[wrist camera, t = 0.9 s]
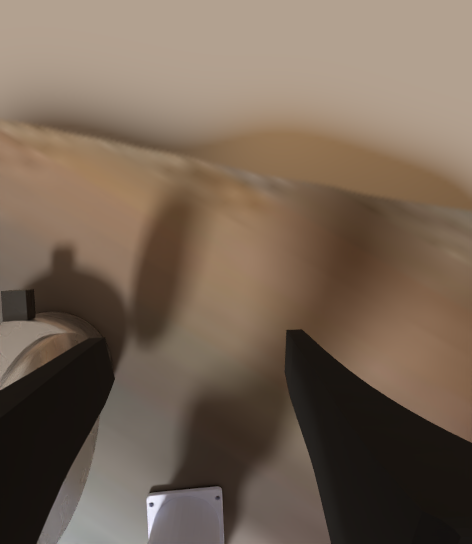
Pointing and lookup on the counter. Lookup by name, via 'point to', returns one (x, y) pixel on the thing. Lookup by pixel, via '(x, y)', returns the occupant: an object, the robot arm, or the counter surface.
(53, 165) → the counter surface
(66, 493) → the cooker lid
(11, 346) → the cooker pot
